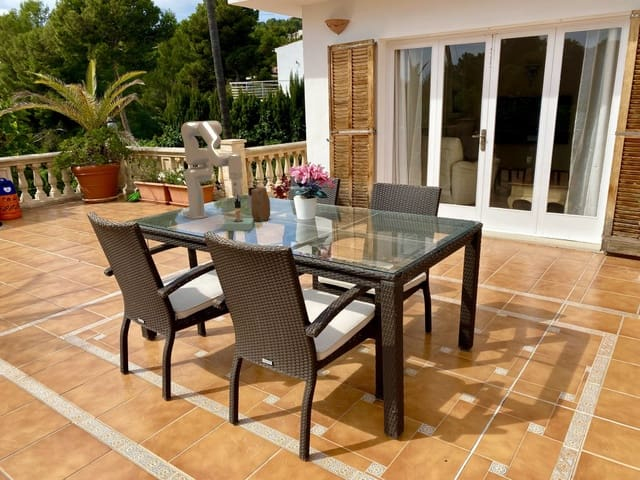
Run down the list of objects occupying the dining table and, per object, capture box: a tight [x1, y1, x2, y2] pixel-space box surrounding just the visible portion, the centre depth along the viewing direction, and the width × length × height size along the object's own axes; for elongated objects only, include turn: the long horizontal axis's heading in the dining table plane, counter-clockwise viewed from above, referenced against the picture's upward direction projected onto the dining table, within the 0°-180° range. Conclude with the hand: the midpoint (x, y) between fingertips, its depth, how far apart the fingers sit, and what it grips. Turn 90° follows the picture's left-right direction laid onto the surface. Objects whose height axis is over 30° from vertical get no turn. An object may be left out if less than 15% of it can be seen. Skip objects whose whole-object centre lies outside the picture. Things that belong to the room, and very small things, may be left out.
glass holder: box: [247, 186, 269, 212], centre depth 331 cm, size 9×14×15 cm, turn 70°
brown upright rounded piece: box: [251, 186, 271, 223], centre depth 302 cm, size 11×8×20 cm
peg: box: [234, 209, 242, 222], centre depth 285 cm, size 4×4×10 cm
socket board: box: [222, 217, 255, 232], centre depth 286 cm, size 16×14×4 cm
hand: (237, 207), depth 283 cm, fingers closed
